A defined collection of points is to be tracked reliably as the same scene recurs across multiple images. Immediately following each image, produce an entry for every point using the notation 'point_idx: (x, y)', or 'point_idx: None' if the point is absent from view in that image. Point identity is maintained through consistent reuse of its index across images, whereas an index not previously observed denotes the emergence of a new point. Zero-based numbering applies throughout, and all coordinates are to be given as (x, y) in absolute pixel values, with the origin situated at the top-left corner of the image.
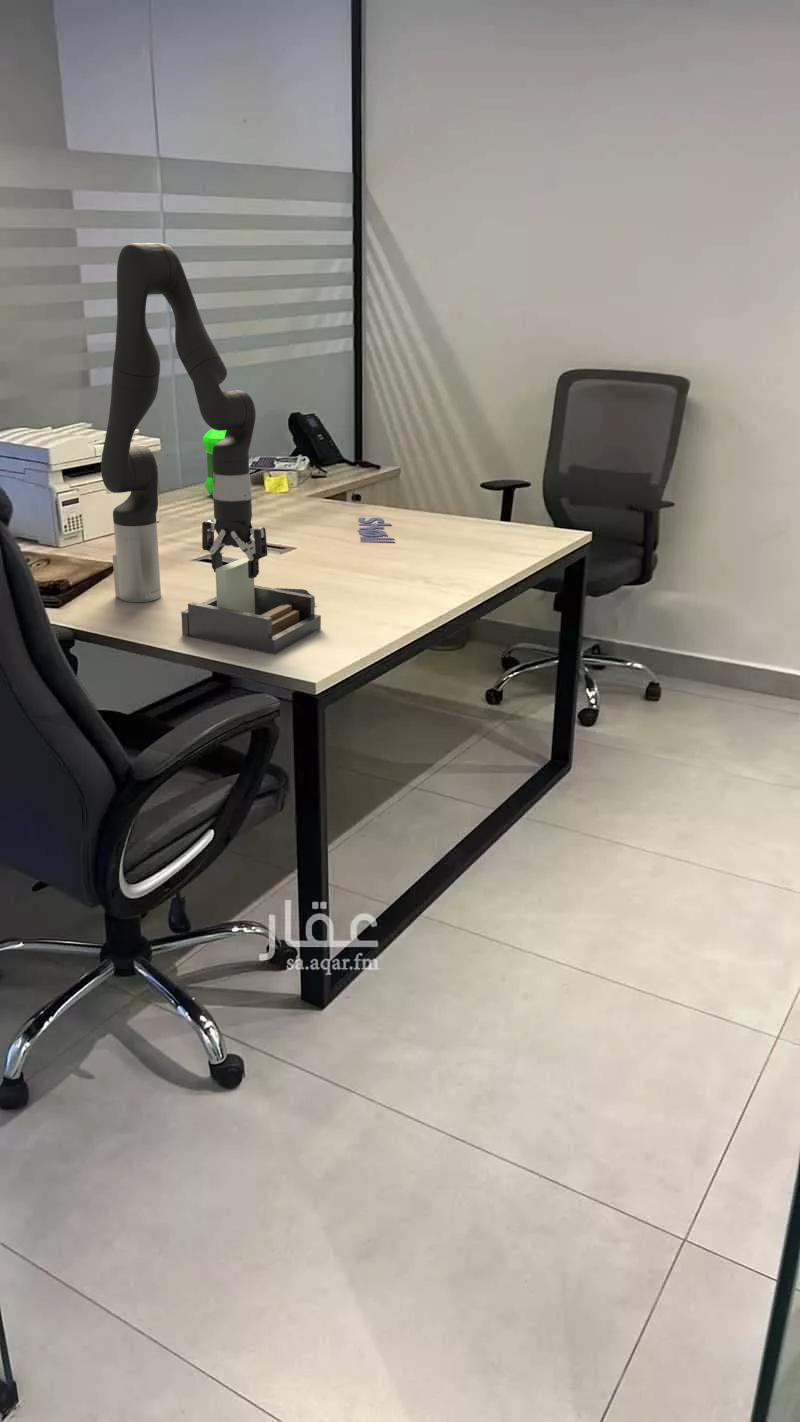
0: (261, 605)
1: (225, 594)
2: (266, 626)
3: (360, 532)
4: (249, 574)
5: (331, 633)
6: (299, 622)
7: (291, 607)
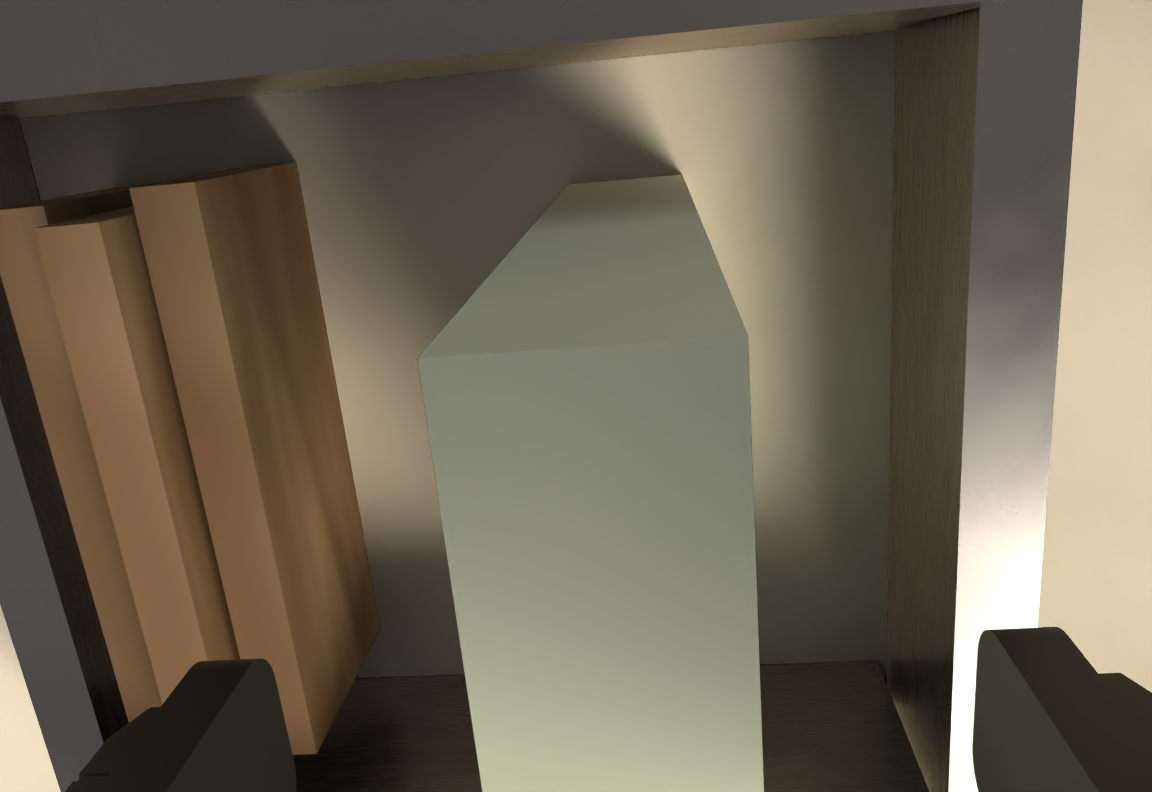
0: None
1: (532, 249)
2: None
3: None
4: (210, 691)
5: (12, 699)
6: (54, 589)
7: None
